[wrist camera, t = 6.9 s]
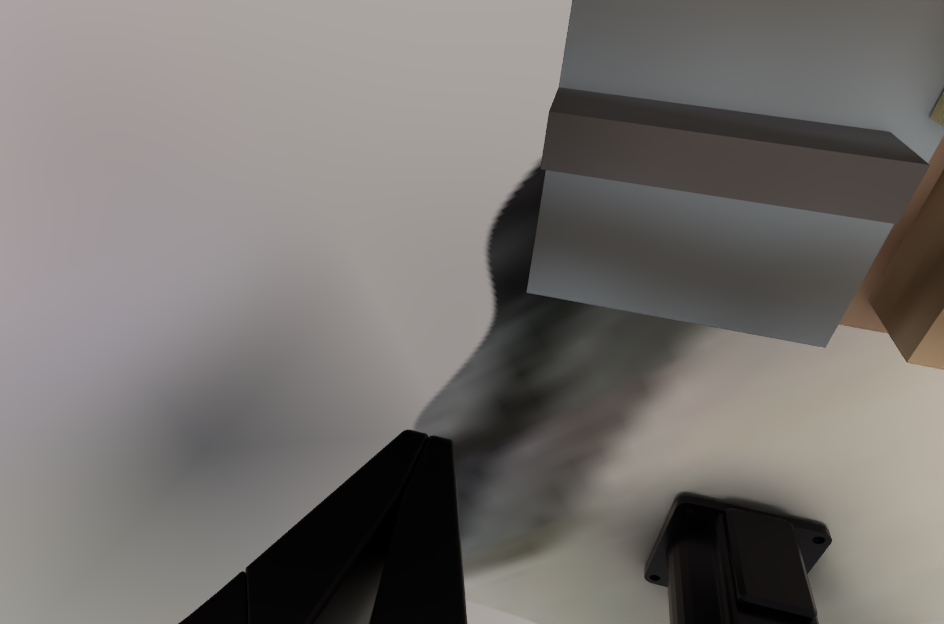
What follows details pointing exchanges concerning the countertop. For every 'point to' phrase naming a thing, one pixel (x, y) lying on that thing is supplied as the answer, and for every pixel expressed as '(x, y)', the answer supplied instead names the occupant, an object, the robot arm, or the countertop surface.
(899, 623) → the countertop surface
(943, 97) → the yellow and black block
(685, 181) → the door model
